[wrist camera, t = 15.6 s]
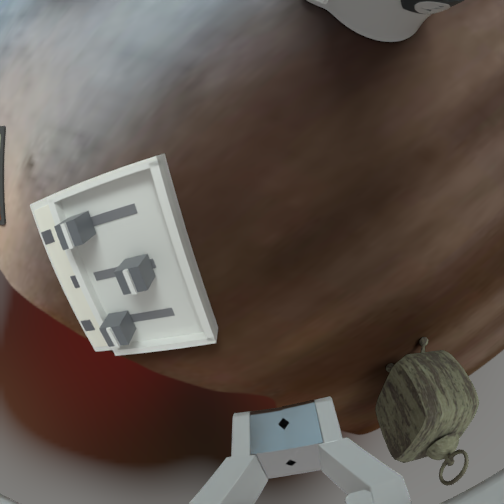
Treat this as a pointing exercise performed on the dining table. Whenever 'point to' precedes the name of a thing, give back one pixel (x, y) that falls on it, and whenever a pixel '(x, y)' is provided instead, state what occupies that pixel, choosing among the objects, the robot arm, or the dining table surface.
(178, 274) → the switch bank
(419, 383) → the tabletop clock
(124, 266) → the tab
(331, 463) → the robot arm
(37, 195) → the dining table surface
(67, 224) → the tab
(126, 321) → the tab
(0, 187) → the calculator
